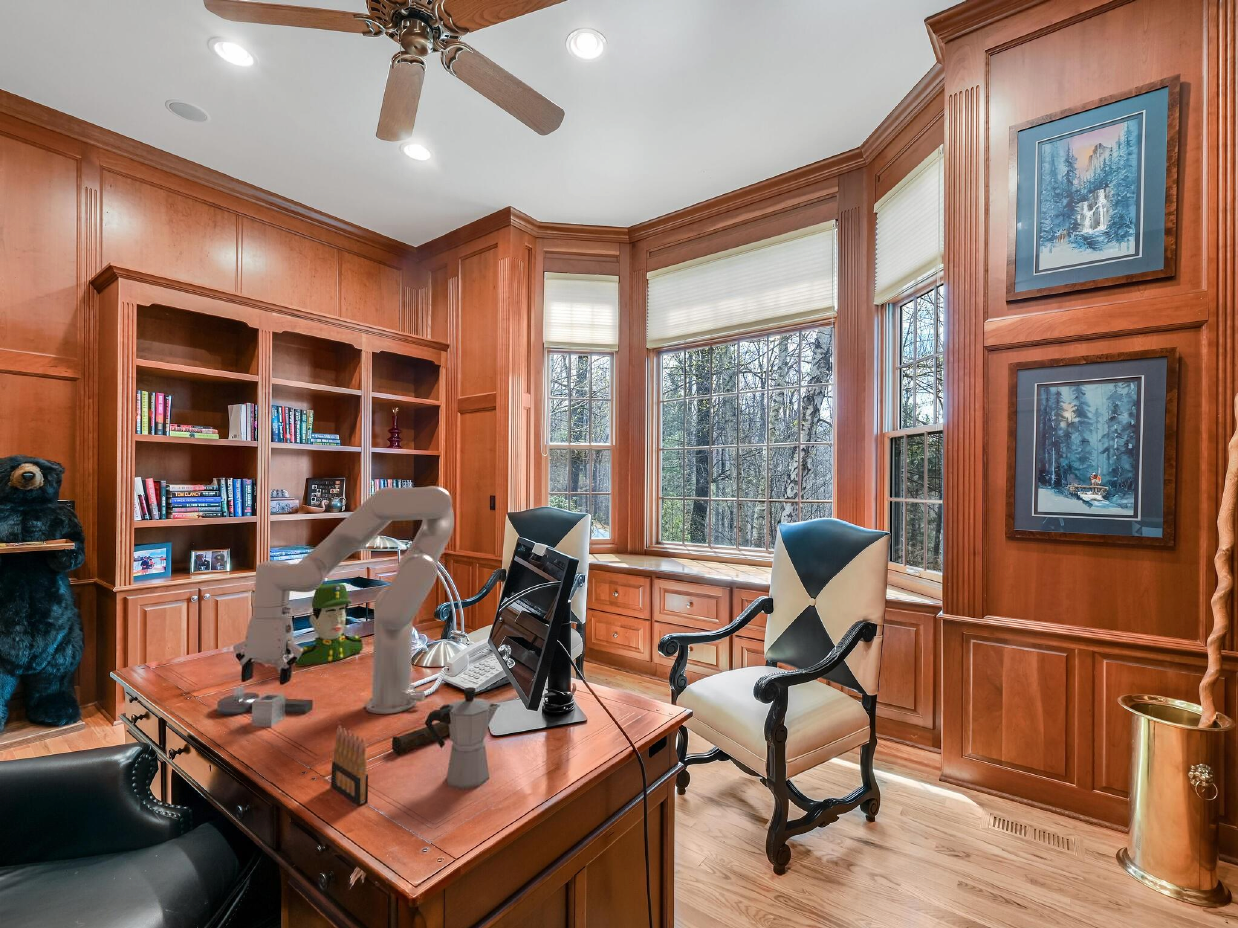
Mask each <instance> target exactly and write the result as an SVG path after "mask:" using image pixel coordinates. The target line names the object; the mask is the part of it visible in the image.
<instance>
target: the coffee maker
mask: <svg viewBox="0 0 1238 928" xmlns="http://www.w3.org/2000/svg"><path fill="white" fill-rule="evenodd" d="M463 694H464V699H460V700H458V701H454V702H451V703H450V704H449V703H447V704H443V705H442V706H440V707H439V709H435V710H432V711H431V712H429V714H428V715H427V717H426V720H425V722H424V725H425V727H427V728H428V729H429V731H430V732H431V734H432V735H433V737H434V738H435V740H434V741H436V743H437V745H438V746H439V748H440V749H442V748H443V747H444V746H445V744H446V742H445V740H444V739H443V738H442V737H441V736H440V735H439V733H438V732H437V730H436V729H435V727H434V726H433V724H434V723H433V722H435V721H436V722H443V723H447V724H449V731H450V736H449V738H450V740H449V741H451V742H452V745H451V749H450V755H449V761H448V766H447V773H446V783H447V786H448V787H450V788H455V789H458V790H467V789H472V788H473V789H474V788H477V787H478V786H479V787H481V785H483V784H484V783H486V782H487V781H488V780H490V773H489V765H488V759H487V758H488V756H487V749H486V744H485V738H486V736H487V735H488V729H489V725H490V723H491V721H492V719H493V717H494V716H495V713H496V711H497V709H498V708H500V707H501V704H496V703H492V702H489V701H487V700H485V699H484V698H475V694H476V688H475V687H471V686H469V687H465V688H464V689H463ZM479 787H478V788H479Z"/></svg>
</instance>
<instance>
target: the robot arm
mask: <svg viewBox="0 0 1238 928" xmlns="http://www.w3.org/2000/svg"><path fill="white" fill-rule="evenodd" d="M452 505H453V499H452V496H451V494H450V493H449V492H448V490H447V489H445V488H443V487H441V486H435V485H429V486H425V487H424V486H423V487H422V486H421V487H391V486H385V487H382V488H379V489H377V490H376V491H375V492H374V493H372V495H370V496H369V498H367V499H366V500H364V502H363V503H362V504H360V505H359V506H358V507H357V508H356V509H355V510H354V511H353V512H352V513H351V514H349V515H348V516H347V517H346V518H344V520H342V522H340V523H339V524H338V525H337V526H336V527H335V528H334V529H333V530H332V531H331V533H330V534H329V535H327V536H326V537H325V539H323V540H322V541H321V542H320V543H318V544H317V545H316V546H315V547H314V548H313V549H312V550H311V551H310V552H309V553H308V554H307V555H305V556H304V557H303V558H302V559H301V560H300V561H299V562H298V563H290V562H289V561H284V560H269V561H262V562H260V563H259V564H257V566H256V568H255V570H256V571H255V581H254V582H255V584H254V595H253V608H252V616H251V617H250V619H249V622H248V624H247V629H246V633H245V638H244V640H243V641H241V642H239V643H236V644H234V645H233V646H232V649H233V651H234V654H235V658H236V660H238V661H239V665H240V666H241V674H240V675H241V677H240V678H241V679H240V681H241V682H240V683H246V682H247V681H249V680H252V679H253V677H254V667H255V666H254V665H255V662H254V661H252V660H253V659H265V660H279V662H280V663H281V665H282V666H283V668H281V670H280V673H279V685H280V686H283V685H285V684H287V683H289V682H290V681H291V679H292V671H293V666H295V662H297V661H298V660H299V658H300V656H301V654H302V653H303V648H302V647H301V646H299V645H298V644H296V643H295V642H294V640H295V637H294V636H295V635H294V624H293V619H292V618H293V617H292V616H291V614H293V613H294V612H293V611H294V609H293V608H292V607H290V592H296V593H297V592H298V593H311V592H313V591H314V592H315V591H316V589H317V588H319V587H320V586H321V585H323V582H324V580H325V578H326V577H327V576H328V575H329V574H330V573H331V572H332V571H334V569H336V568H337V567H338V566H339V565H340V564H341V563H342V562H344V560H345V559H347V558H348V557H349V556H351V555H352V554H354V553H355V552H358V551H360V550H361V549H363V548H364V547H366V546H367V545H368V544H369V543H370V542H371V541H372V540H373V539H374V538H375V537H376V536H377V535H378V534H380V533H381V532H382V531H383V530H384V529H385V528H386V527H387V526H388V525H389V524H390V523H391V522H393V521H398V522H399V521H417V520H420V521H421V520H422V521H421V525H420V527H419V529H418V531H417V532H416V535H415V537H414V538H413V541H412V542H411V543H410V545H409V546H408V549H407V550H406V552H404V555H402V557H401V558H400V560H399V562H398V565H397V572H396V575H394V577H393V578H392V579H393V580H392V581H391V582H390V584H389V585H388V586H386V587H384V588H382V589H381V590H380V591H379V592H378V594H377V595H376V597H375V599H374V603H373V605H374V606H373V613H374V615H373V616H374V617H373V618H374V619H373V622H374V623H373V625H374V627H373V629H374V630H373V634H374V635H373V656H372V657H373V661H372V666H373V667H372V689H371V691H372V696H371V698H369V699H368V700H367V701H366V702H365V709H366V711H368V712H369V713H372V714H379V715H386V714H387V715H388V714H390V715H391V714H395V713H400V712H404V711H406V710H409V709H411V708H413V707H414V706H415V705H416V703H417V702H424V701H425V699H426V693H425V691H424V690H416V689H415V684H412V679H411V678H412V653H413V652H412V650H413V649H412V647H413V646H412V645H413V620H414V618H415V617H416V615H417V614H418V612H419V610H420V609H421V607H422V605H423V604H424V602H425V600H426V598H427V597H428V595H429V593H430V592H431V590H432V589H433V586H434V584H435V582H436V581H437V577H438V570H439V569H438V562H439V560H440V558H441V556H442V554H443V553H444V551H445V549H446V547H447V545H448V544H449V541H450V539H451V537H452V535H453V531H454V527H455V516H454V514H455V513H454V510H453V507H452ZM289 614H290V616H289ZM292 653H293V654H294V655H293V657H291V656H290V655H291V654H292Z"/></svg>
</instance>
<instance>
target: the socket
mask: <svg viewBox="0 0 1238 928" xmlns="http://www.w3.org/2000/svg"><path fill="white" fill-rule="evenodd" d="M285 699H286V693H264V694H262V695H261V696H259V698H257V699H255V700H254V701H252V711H251V727H264V728H266V727H267V728H272V727H274V726H275V725H277V724H278V723H280V722H281V721H283V720H285V718H286V716H285V715H286V713H285Z"/></svg>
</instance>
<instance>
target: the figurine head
mask: <svg viewBox="0 0 1238 928" xmlns="http://www.w3.org/2000/svg"><path fill="white" fill-rule="evenodd" d="M348 595H349V594H348V590H347V588H346V585H345V584H343V583H327V584H326V583H325V584H321V586H320V587H319V588H317V589H316V590H314V595H313V599H312V602H311V608H312V614H311V616H309V623H310V624H311V626H312V627H313V630H314V631H315V633H316V634H318V637H314V639H315V640H314V641H315V643H313V644H309V645H305V646H302V647H301V648H303V653H302V654H301V656H300V658H299V660H298V661H297V662H295V664H294V666H297V667H302V666H309V665H313V664H315V665H317V664H326V663H330V662H334V661H339V660H343V659H346V658H348V657H349V656H352V655H356V654H358V653H360V652H362V651H363V648H364V646H363V645H364V643H363V640H362V638H361V636H359V635H351V636H346V635H345V633H344V629H345V625H346V619H347V613H348V607H349V605H350V604H352V601H351V600H349V596H348Z"/></svg>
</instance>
